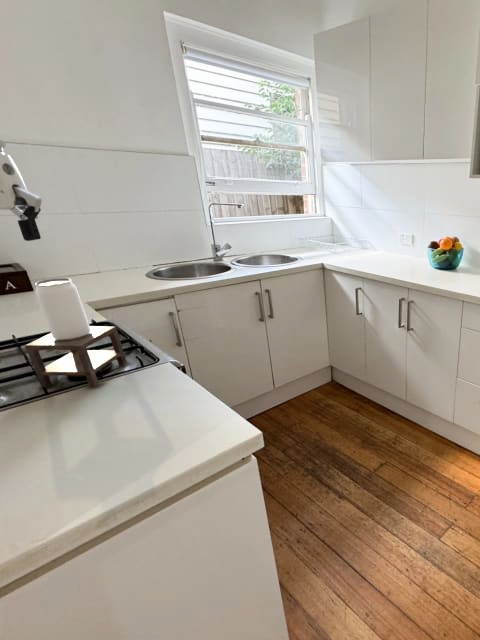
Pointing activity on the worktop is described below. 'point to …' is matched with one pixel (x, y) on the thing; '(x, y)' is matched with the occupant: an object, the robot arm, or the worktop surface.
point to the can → (62, 308)
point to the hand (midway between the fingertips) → (8, 238)
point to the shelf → (76, 355)
